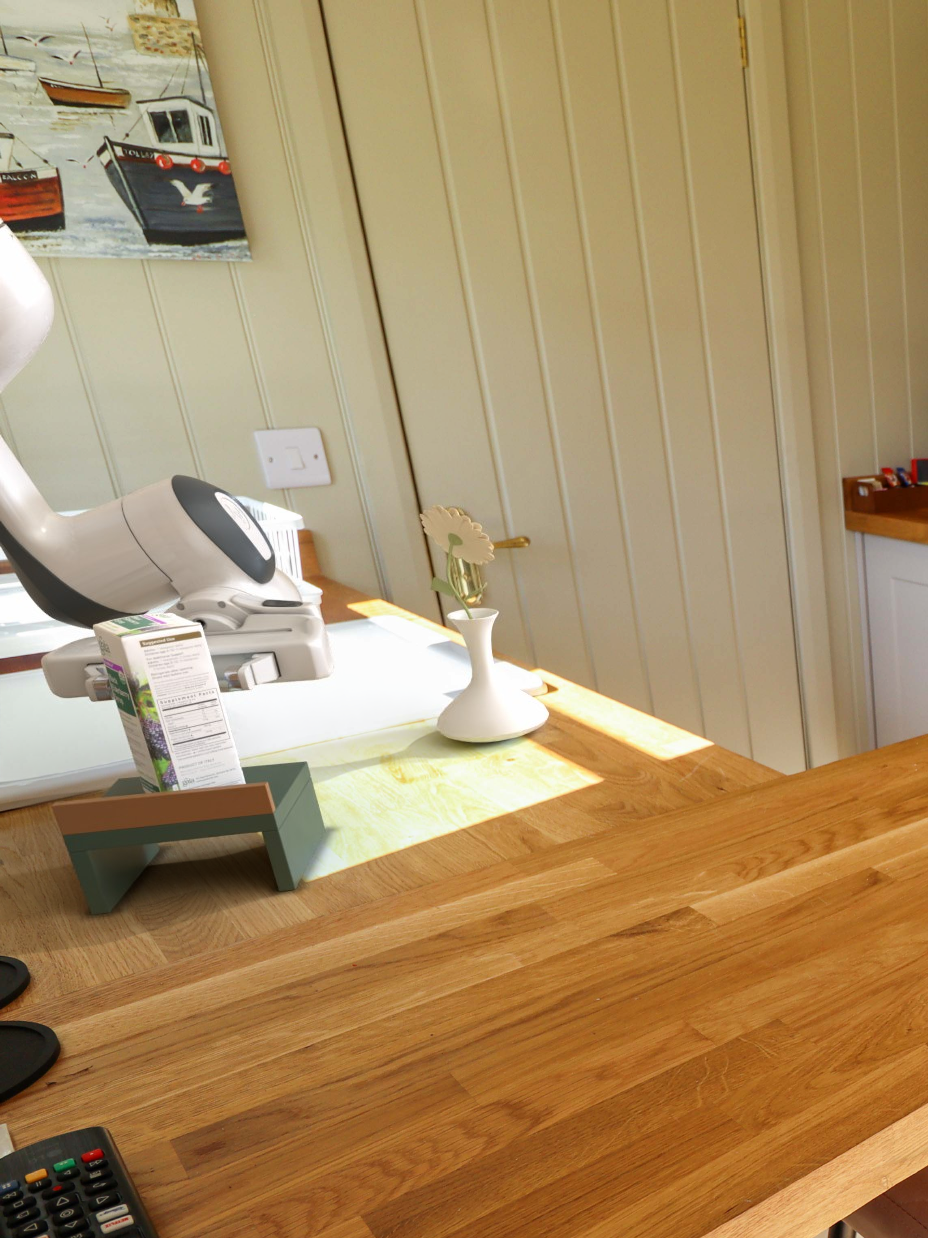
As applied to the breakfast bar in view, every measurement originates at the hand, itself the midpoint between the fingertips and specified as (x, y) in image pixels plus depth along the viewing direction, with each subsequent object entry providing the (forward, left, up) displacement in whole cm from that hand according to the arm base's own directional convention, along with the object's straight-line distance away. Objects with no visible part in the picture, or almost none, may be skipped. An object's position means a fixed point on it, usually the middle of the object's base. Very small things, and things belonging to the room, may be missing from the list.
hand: (168, 686), depth 94 cm
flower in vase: (+19, +28, -16) cm, 38 cm away
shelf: (0, -2, -16) cm, 16 cm away
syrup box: (0, -1, -9) cm, 9 cm away
